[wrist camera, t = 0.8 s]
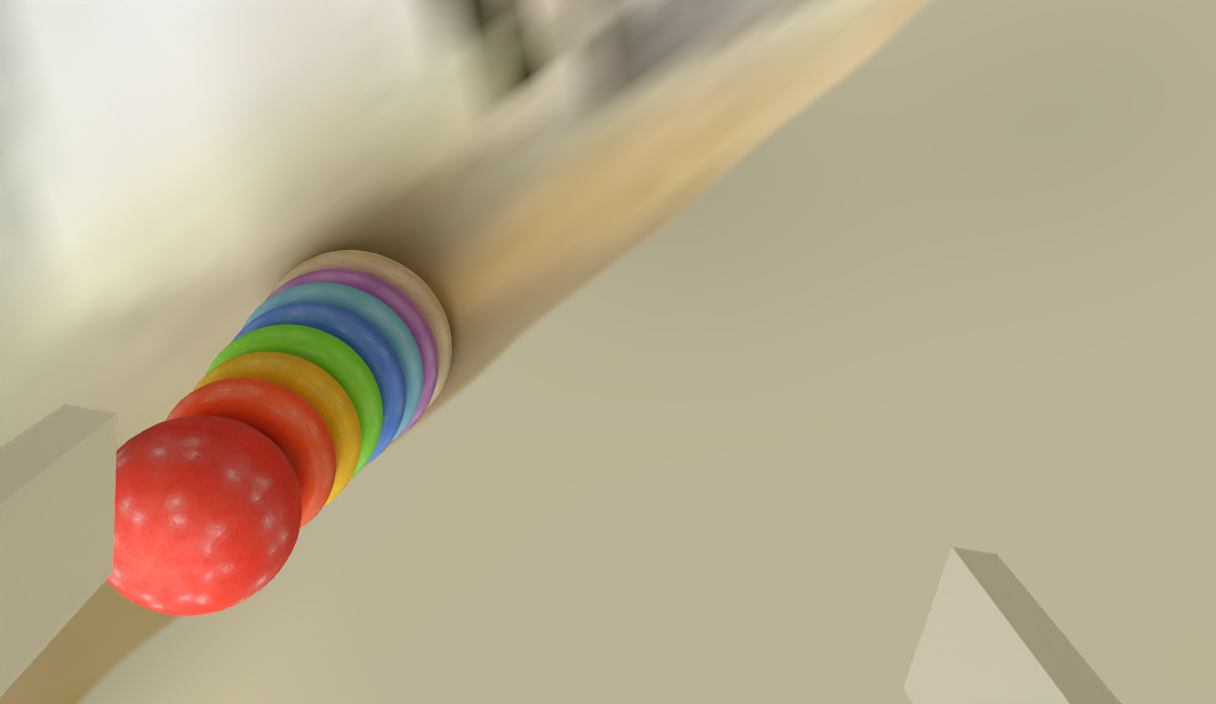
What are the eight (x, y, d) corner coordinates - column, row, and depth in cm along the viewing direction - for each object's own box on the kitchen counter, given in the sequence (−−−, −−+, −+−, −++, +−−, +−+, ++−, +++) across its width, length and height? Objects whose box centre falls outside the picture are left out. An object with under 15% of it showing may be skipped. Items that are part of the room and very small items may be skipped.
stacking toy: (450, 245, 38) (330, 413, 20) (458, 424, 40) (358, 713, 23) (258, 245, 38) (-35, 414, 20) (278, 424, 40) (33, 716, 22)
